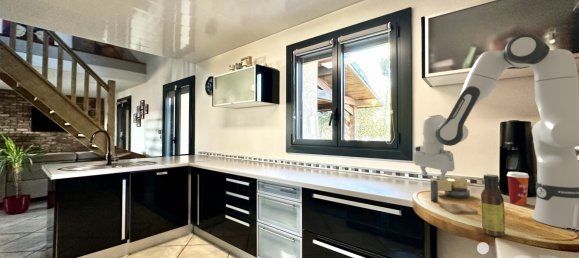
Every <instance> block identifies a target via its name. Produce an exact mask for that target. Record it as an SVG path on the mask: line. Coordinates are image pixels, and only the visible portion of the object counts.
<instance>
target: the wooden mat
mask: <svg viewBox="0 0 579 258" xmlns="http://www.w3.org/2000/svg"><path fill="white" fill-rule="evenodd" d="M439 207H440V208H442V209H444V210H445V211H447V212H449V213H450V214H453V215H457V214H458V215H460V214H462V215H463V214H465V215H466V214H471V215H472V214H477V215H478V211H477V210H476V209H474V208H473V207H470V206H468V205H466V204H464V203H439Z"/></svg>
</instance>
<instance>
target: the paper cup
mask: <svg viewBox="0 0 579 258" xmlns="http://www.w3.org/2000/svg"><path fill="white" fill-rule="evenodd" d="M506 177H507V184H508V196H509V203H510V204H512V205H515V206H527V201H528V189H529V178H530V176H529V174H528V173H526V172H519V171H508V172H507V174H506Z"/></svg>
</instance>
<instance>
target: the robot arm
mask: <svg viewBox="0 0 579 258" xmlns="http://www.w3.org/2000/svg"><path fill="white" fill-rule="evenodd" d="M527 68H530V69H531V70H532V71H533V72H532V73H533V77H534V78H533V79H534V80H533V81H534V98H535V99H534V100H535V104H536V106H537V110H538V113H539V119H540V120H538V121H537V122H536V123H534V125H532V128H531V134H532V138H533V140H532V143H533V148H534V153H535V157H536V169H537V170H536V171H537V173H536V176H537V177H536V179H537V181H536V182H535V192H536V198H535V204H534V205H535V206H534V210H533V213H532V215H531V217H532V219H533V220H534V221H537V222H538V223H541V224H546V225H548V226H551V227H557V228H562V229H567V228H572V229H577V230H579V159H578V156H577V152H576V149H575V148H576V147H579V79H578V78H579V77H578V76H579V75H578V67H577V63H576V59H575V57H574V54H573V52H572V51H571V50H568V49H564V48H563V49H562V48H555V49H551V48H550V46H549V45H548V44H547V43H546V42H545V41H544V40H543V39H542V38H541V37H540V36H538V35H536V34H533V33H522V34H519V35H516V36H515V37H513V38H511V39H510V40H509V41H508V42H507V44H506V45H505V48H504V49H503V50H487V51H484V52H482V53H481V54H479V57H478V58H477V59H476V61H475V62H474V64H473V65H472V67H471V68H470V71H469V72H468V74H467V77H466V79H465V81H464V83H463V86H462V90H461V92H460V94H459V97H458V98H457V101H456V102H455V104H454V106H453V108H452V110H451V111H450V113H449V115H448V117H444V116H443V115H441V114H436V115H431V116H427V117H425V118H424V119H423V124H422V136H423V140H422V144H420V145H417V146H415V147H414V154H413V163H414V165H415V166H419V167H420V170H421V172H422V173H421V174H422V176H428V172H427V171H426V168H430V169H434V170H439V171H440V175H438V178H439V179H441V180H444V178H445V176H446V174H447V172H453V171H454V170H455V169H456V168H455V160H454V154H453V152H451V151H450V150H445V149H444V148H445V147H444V146H448V147H450V146H451V147H452V146H455V145H457V144H459V143H462V142H463V141H465V140H466V139H467V138H468V136H469V129H468V128H467V126H466V125H465V124H466V121H467V119H468V118H469V116H470V114H471V112H472V110H473V109H474V108H475V106H476V105H477V104H478V103H479V102H480V101H483V100H484V99H485V98H487V97H488V96H489V95H490V94H491V93H492V92H493V91H494V89H495V88H496V86H497V84H498V83H499V81H500V79H501V77H502V75H503V74H504V72H505V71H506V70H512V69H513V70H515V69H527ZM572 229H571V230H572Z"/></svg>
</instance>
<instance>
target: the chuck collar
mask: <svg viewBox="0 0 579 258" xmlns="http://www.w3.org/2000/svg"><path fill="white" fill-rule="evenodd" d="M429 180H430V181H429V182H430V183H429V184H430V186H431V180H437V181H438V192H444V191H452V190H453V191H467V189H468V179H466V178H462V177H446V178H445V177H444V180H441V179H439V177H437V178H436V177H430V179H429Z"/></svg>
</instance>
